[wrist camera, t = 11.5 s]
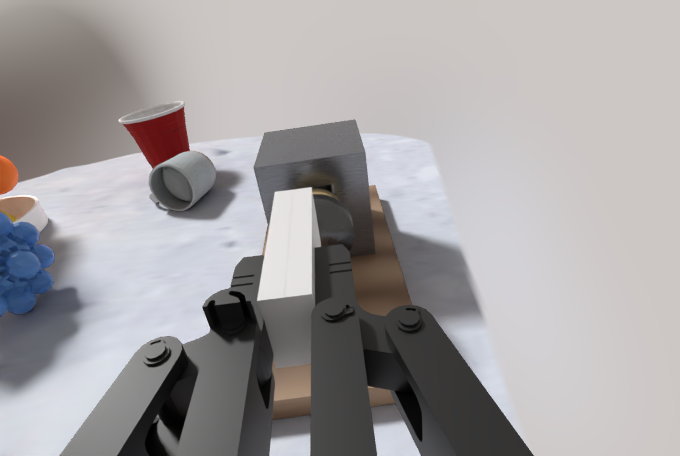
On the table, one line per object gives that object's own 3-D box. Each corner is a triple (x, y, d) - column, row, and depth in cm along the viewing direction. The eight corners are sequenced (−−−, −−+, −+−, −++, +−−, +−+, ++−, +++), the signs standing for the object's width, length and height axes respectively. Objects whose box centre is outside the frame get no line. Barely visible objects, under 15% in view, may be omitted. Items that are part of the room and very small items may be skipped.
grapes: (24, 350, 40) (-52, 246, 34) (-36, 351, 41) (-120, 250, 35) (97, 275, 50) (48, 183, 44) (47, 277, 51) (-8, 188, 45)
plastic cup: (173, 161, 82) (151, 99, 76) (217, 164, 77) (197, 98, 71) (130, 186, 73) (101, 118, 67) (176, 190, 69) (150, 118, 63)
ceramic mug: (224, 187, 68) (211, 143, 64) (201, 211, 61) (184, 164, 58) (170, 189, 70) (153, 147, 67) (141, 213, 64) (122, 168, 60)
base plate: (435, 398, 30) (434, 379, 29) (241, 423, 30) (234, 406, 29) (376, 198, 58) (375, 185, 57) (275, 212, 58) (272, 199, 57)
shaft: (358, 262, 36) (349, 200, 33) (288, 272, 36) (273, 211, 33) (344, 177, 51) (337, 129, 48) (295, 184, 51) (286, 137, 48)
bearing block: (375, 253, 43) (365, 151, 37) (278, 267, 43) (253, 167, 37) (365, 207, 51) (355, 119, 46) (284, 219, 52) (264, 132, 46)
